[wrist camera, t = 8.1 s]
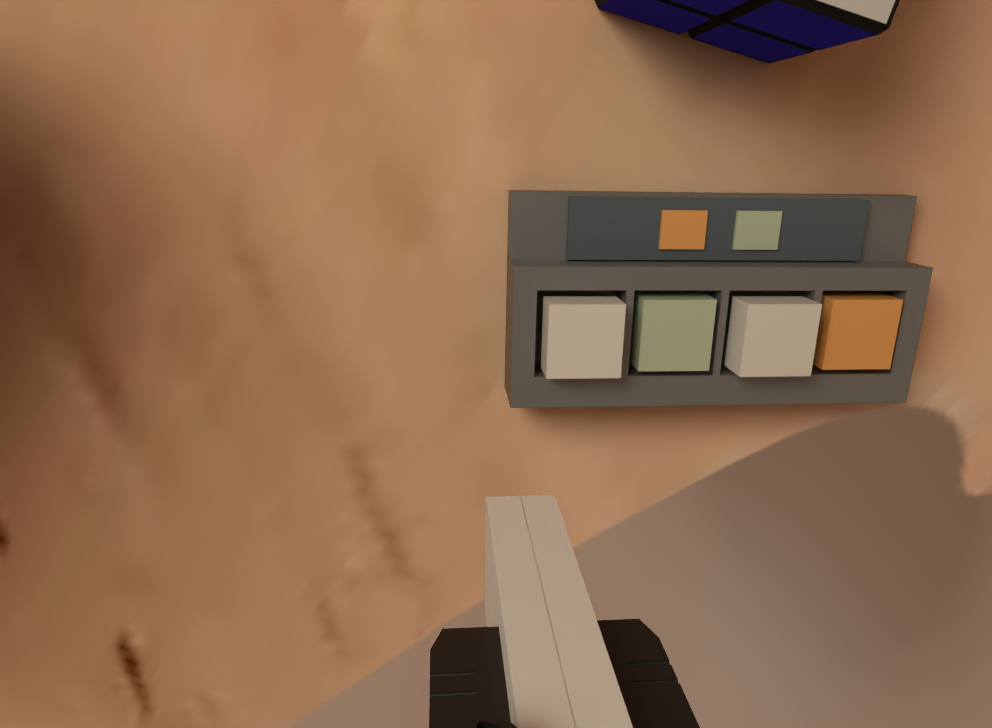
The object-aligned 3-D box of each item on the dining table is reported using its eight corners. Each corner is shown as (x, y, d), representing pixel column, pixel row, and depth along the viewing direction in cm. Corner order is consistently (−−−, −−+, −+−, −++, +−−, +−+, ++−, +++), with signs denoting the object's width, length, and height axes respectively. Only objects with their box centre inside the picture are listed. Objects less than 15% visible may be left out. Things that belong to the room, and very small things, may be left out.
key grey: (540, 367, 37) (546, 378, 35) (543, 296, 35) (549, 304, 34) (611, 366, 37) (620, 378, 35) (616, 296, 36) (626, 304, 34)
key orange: (803, 359, 39) (822, 369, 37) (813, 292, 38) (833, 299, 36) (868, 358, 39) (889, 369, 37) (880, 292, 38) (903, 299, 36)
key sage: (628, 360, 38) (638, 371, 36) (633, 292, 37) (643, 299, 35) (695, 359, 38) (709, 370, 36) (702, 292, 37) (716, 299, 35)
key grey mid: (724, 365, 37) (739, 376, 35) (732, 296, 36) (748, 304, 34) (792, 364, 38) (810, 376, 36) (802, 296, 37) (822, 304, 35)
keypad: (504, 386, 40) (510, 407, 37) (508, 190, 37) (515, 194, 33) (868, 382, 42) (905, 402, 38) (902, 195, 38) (946, 199, 35)
